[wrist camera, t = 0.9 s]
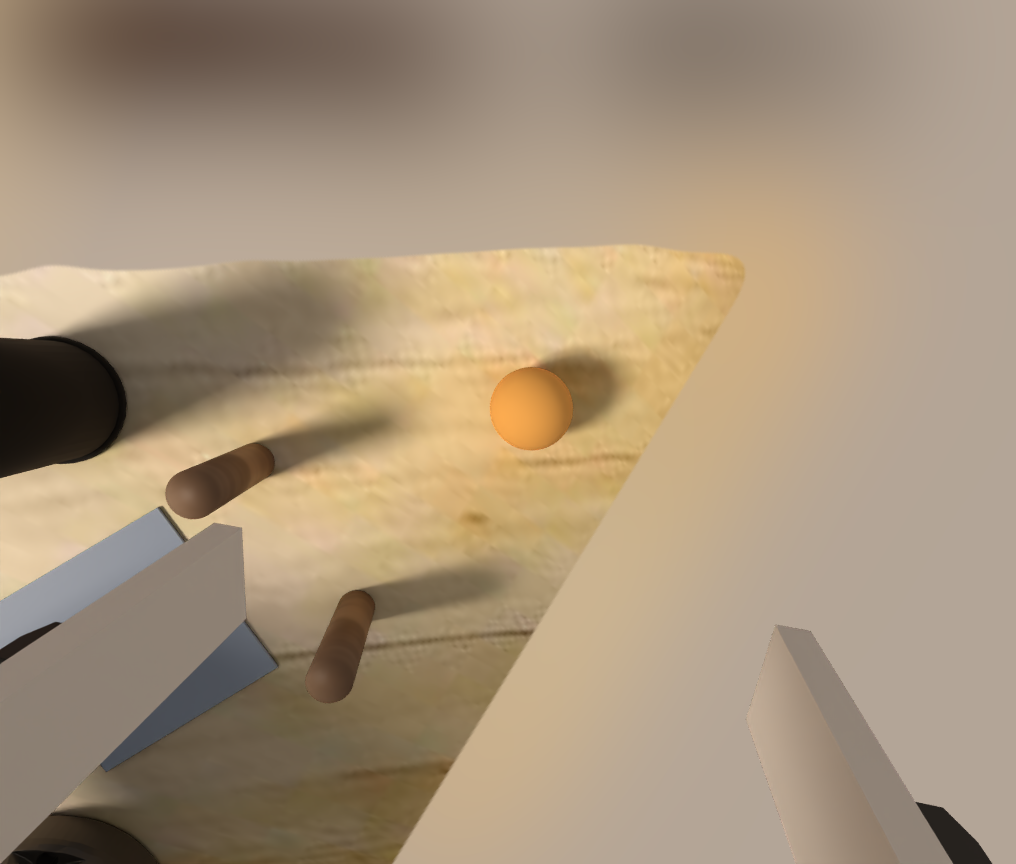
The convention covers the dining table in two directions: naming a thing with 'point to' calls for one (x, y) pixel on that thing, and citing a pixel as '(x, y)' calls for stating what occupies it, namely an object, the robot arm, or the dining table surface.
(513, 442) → the ball
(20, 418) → the aerosol can
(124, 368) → the dining table surface
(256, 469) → the post
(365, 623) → the post
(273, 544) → the dining table surface
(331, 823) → the dining table surface
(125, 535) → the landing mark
